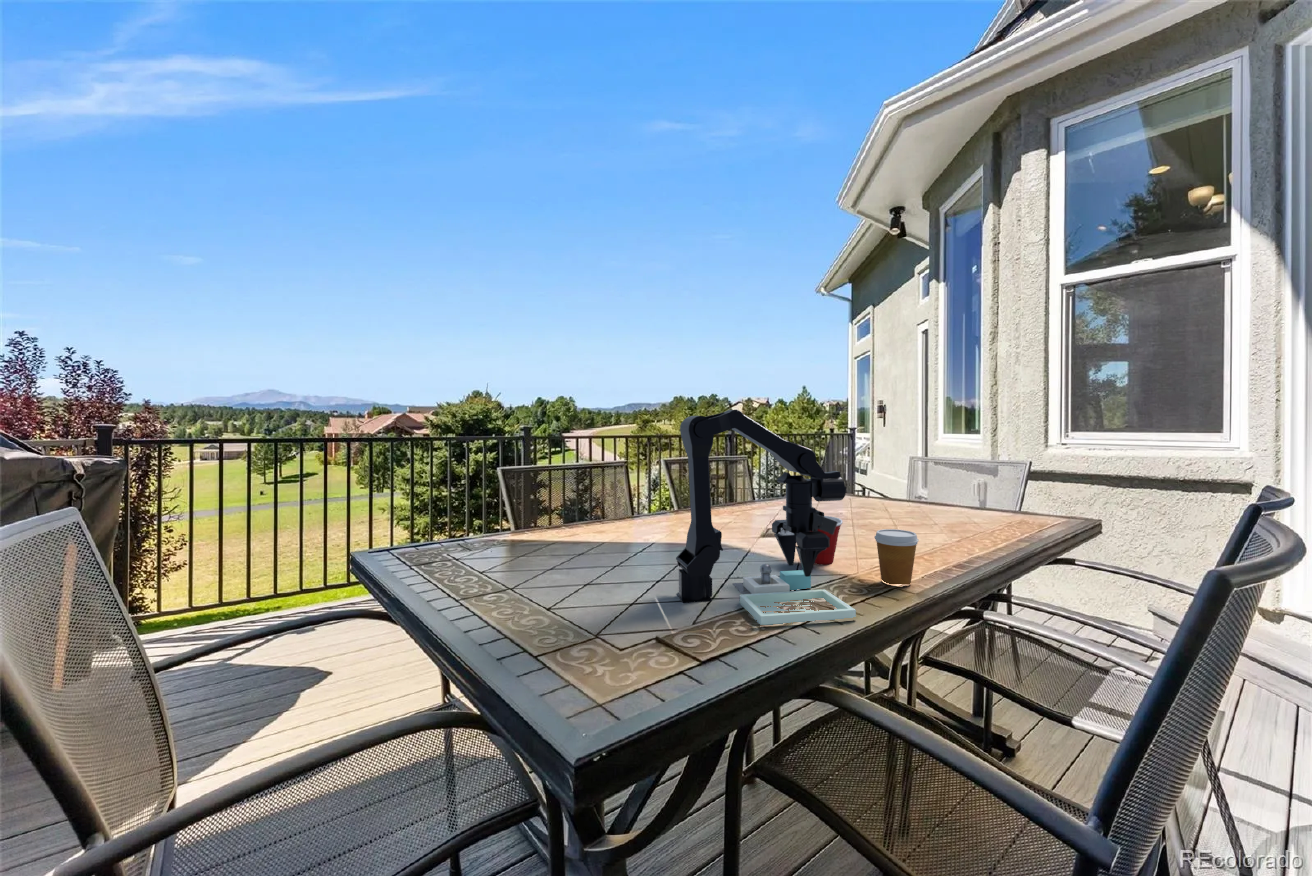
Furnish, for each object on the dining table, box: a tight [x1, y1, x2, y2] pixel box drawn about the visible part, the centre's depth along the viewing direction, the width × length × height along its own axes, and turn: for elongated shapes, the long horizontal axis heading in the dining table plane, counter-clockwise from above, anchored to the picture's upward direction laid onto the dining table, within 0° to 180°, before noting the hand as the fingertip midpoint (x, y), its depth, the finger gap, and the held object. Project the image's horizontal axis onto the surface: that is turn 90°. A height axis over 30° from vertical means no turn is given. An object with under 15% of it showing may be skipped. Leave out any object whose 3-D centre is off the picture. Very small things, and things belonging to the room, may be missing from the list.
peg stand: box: [732, 563, 773, 594], centre depth 124 cm, size 12×12×6 cm
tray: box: [739, 588, 857, 625], centre depth 111 cm, size 19×13×2 cm
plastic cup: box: [810, 515, 843, 566], centre depth 148 cm, size 11×11×12 cm
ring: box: [742, 569, 812, 594], centre depth 125 cm, size 14×8×4 cm, turn 99°
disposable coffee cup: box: [874, 528, 920, 584], centre depth 129 cm, size 10×10×12 cm
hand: (798, 570), depth 126 cm, fingers open, 9 cm apart
